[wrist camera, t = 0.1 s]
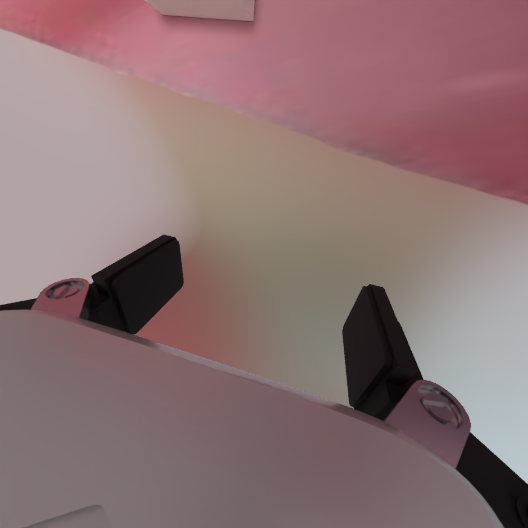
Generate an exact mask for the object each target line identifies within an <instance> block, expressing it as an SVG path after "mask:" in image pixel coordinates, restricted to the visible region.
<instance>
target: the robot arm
mask: <svg viewBox="0 0 528 528" xmlns="http://www.w3.org/2000/svg"><path fill="white" fill-rule="evenodd" d="M92 279H93V281H94V282H93V283H92V284H89V282H88V281H87V280H85V279H81V278H70V279H65V280H61V281H59V282H55V283H53V284H51V285H49V286H48V287H46V288H45V289H44V290H43V291H42V292H41V293H40V294H39V296H38V298H36V299H30V300H26V301H20V302H15V303H9V304H5V305H0V528H528V484H527V483H525V481H523V480H522V479H521V478H520V477H519V476H518V475H517V474H516V473H515V472H514V471H512V470H511V469H510V468H509V467H508V466H507V465H506V464H505V463H503V461H501V460H500V459H499V458H498V457H497V456H496V455H494V453H492V452H491V451H490V450H489V449H488V448H487V447H486V446H485V445H484V444H483V443H481V442H480V441H479V440H478V439H477V438H476V437H475V436H474V435H473V434H472V433H470V428H471V423H470V419H469V416H468V414H467V413H466V411H465V409H464V408H463V406H462V405H461V404H460V403H459V401H458V400H457V399H456V398H455V397H454V396H453V395H452V394H451V393H449V392H448V391H447V390H446V389H444V388H443V387H441V386H440V385H438V384H436V383H433V382H431V381H427V380H423V377H422V375H421V372H420V370H419V368H418V366H417V363H416V361H415V358H414V356H413V354H412V351H411V349H410V346H409V344H408V341H407V339H406V337H405V334H404V332H403V329H402V327H401V325H400V323H399V322H398V321H397V318H396V316H395V314H394V311H393V309H392V306H391V304H390V301H389V299H388V297H387V294H386V292H385V289H384V288H383V287H380V286H375V285H371V284H369V285H368V286H367V287H366V286H364V287H363V288H362V290H361V292H360V294H359V296H358V298H357V300H356V302H355V304H354V306H353V308H352V310H351V312H350V314H349V316H348V318H347V320H346V322H345V324H344V326H343V331H342V332H343V344H344V354H345V365H346V375H347V386H348V397H349V404H350V406H352V407H354V409H353V408H350V407H347V406H344V405H342V404H339V403H336V402H333V401H330V400H327V399H325V398H322V397H319V396H316V395H313V394H310V393H307V392H305V391H302V390H298V389H296V388H293V387H290V386H287V385H284V384H281V383H278V382H275V381H272V380H269V379H266V378H263V377H260V376H257V375H254V374H251V373H248V372H245V371H242V370H239V369H236V368H233V367H230V366H227V365H224V364H221V363H218V362H215V361H212V360H209V359H206V358H203V357H200V356H197V355H194V354H191V353H188V352H185V351H182V350H178V349H175V348H172V347H169V346H166V345H163V344H160V343H157V342H154V341H151V340H148V339H145V338H141V337H138V336H135V335H133V334H136V333H137V332H138V331H139V330H140V329H141V328H142V327H143V326H144V325H145V324H146V323H147V322H148V321H149V320H150V319H151V318H152V317H153V316H154V315H155V314H156V313H157V312H158V311H159V310H160V309H161V308H162V307H163V306H164V305H165V304H166V303H167V302H168V301H169V300H170V299H171V298H172V297H173V296H174V295H175V294H176V293H177V292H178V291H179V290H180V289H181V288H182V286H183V283H184V281H183V272H182V262H181V254H180V245H179V242H178V241H177V239H176V238H175V237H171V236H167V235H162V236H160V237H159V238H157V239H155V240H153V241H152V242H150V243H148V244H146V245H145V246H143V247H141V248H139V249H138V250H136V251H134V252H132V253H131V254H129V255H127V256H125V257H124V258H122V259H120V260H118V261H117V262H115V263H113V264H111V265H110V266H108V267H106V268H104V269H103V270H101V271H99V272H97V273H96V274H94V275H92Z"/></svg>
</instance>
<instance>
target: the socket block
mask: <svg viewBox="0 0 528 528" xmlns="http://www.w3.org/2000/svg"><path fill="white" fill-rule="evenodd" d="M144 1H146V2H147V3H148V4H149V5H151V6H152V7H153V8H154V9H156V10H157V11H158V12H159V13H161V14H162V15H171V16H185V17H199V18H214V19H228V20H242V21H254V6H255V0H144Z"/></svg>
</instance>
